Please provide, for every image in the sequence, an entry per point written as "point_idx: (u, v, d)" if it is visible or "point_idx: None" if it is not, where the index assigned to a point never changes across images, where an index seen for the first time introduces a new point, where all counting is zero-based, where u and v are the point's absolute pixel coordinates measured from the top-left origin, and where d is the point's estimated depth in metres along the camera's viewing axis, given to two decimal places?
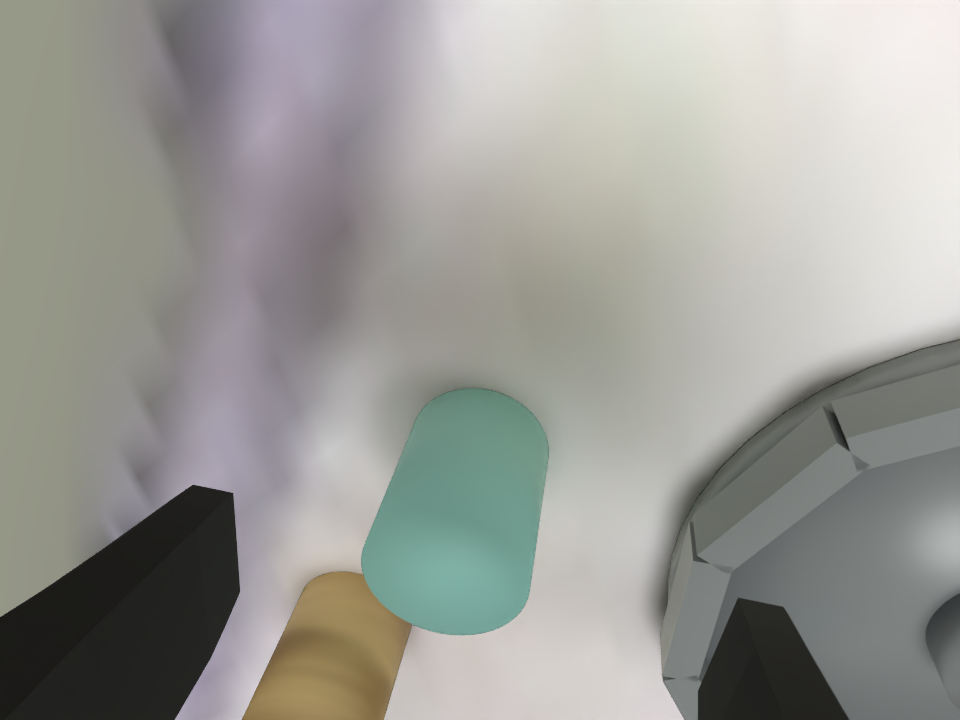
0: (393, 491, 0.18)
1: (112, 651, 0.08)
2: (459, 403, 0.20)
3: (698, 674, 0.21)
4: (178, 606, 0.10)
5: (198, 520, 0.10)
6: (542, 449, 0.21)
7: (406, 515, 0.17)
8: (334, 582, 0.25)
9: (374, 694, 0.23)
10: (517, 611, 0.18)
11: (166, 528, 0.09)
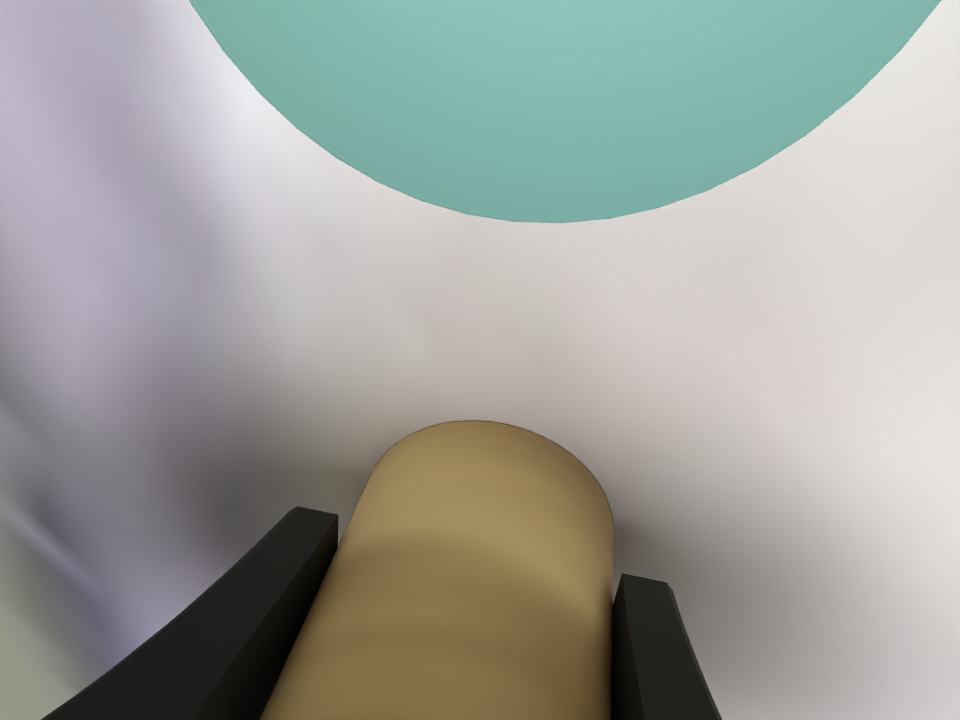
0: None
1: (245, 681, 0.08)
2: None
3: None
4: (294, 631, 0.09)
5: (312, 544, 0.10)
6: None
7: None
8: (403, 453, 0.11)
9: (555, 661, 0.08)
10: None
11: (283, 553, 0.09)
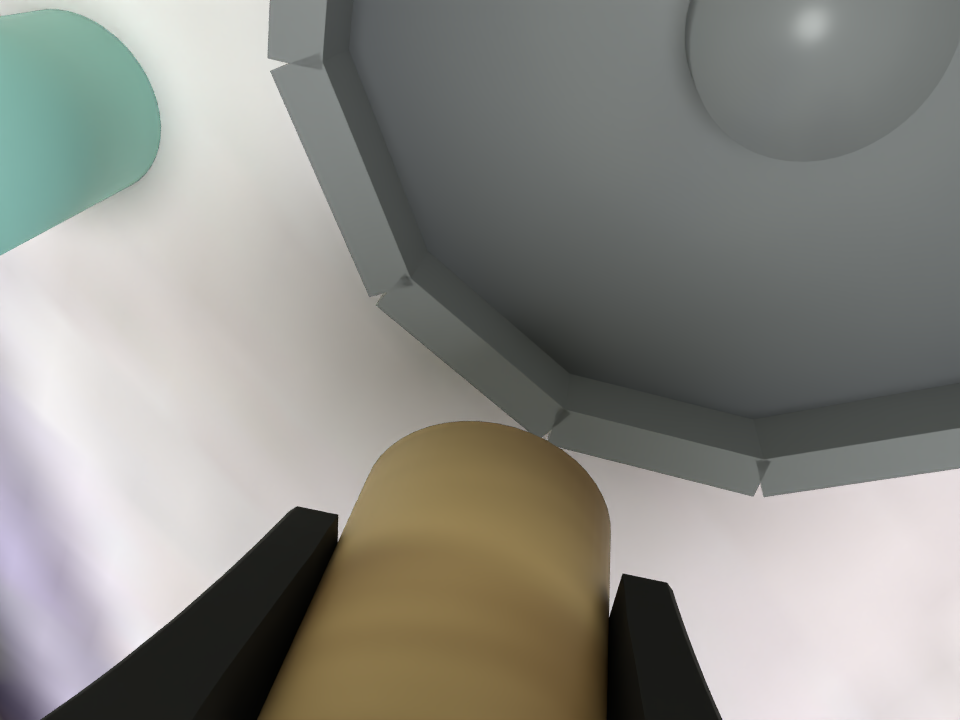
0: None
1: (245, 681, 0.08)
2: None
3: (405, 270, 0.15)
4: (294, 631, 0.09)
5: (312, 544, 0.10)
6: (100, 47, 0.16)
7: None
8: (407, 450, 0.11)
9: (559, 666, 0.08)
10: (10, 186, 0.13)
11: (283, 552, 0.09)
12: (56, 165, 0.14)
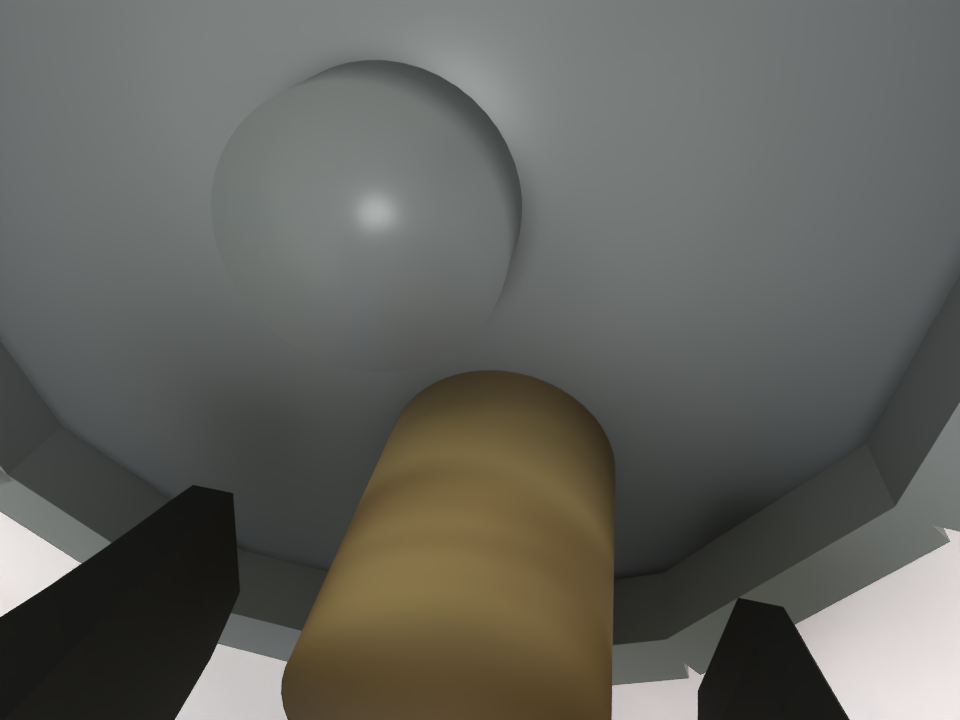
0: None
1: (112, 651, 0.08)
2: None
3: None
4: (178, 606, 0.10)
5: (198, 520, 0.10)
6: None
7: None
8: (433, 396, 0.12)
9: (572, 569, 0.09)
10: None
11: (166, 528, 0.09)
12: None
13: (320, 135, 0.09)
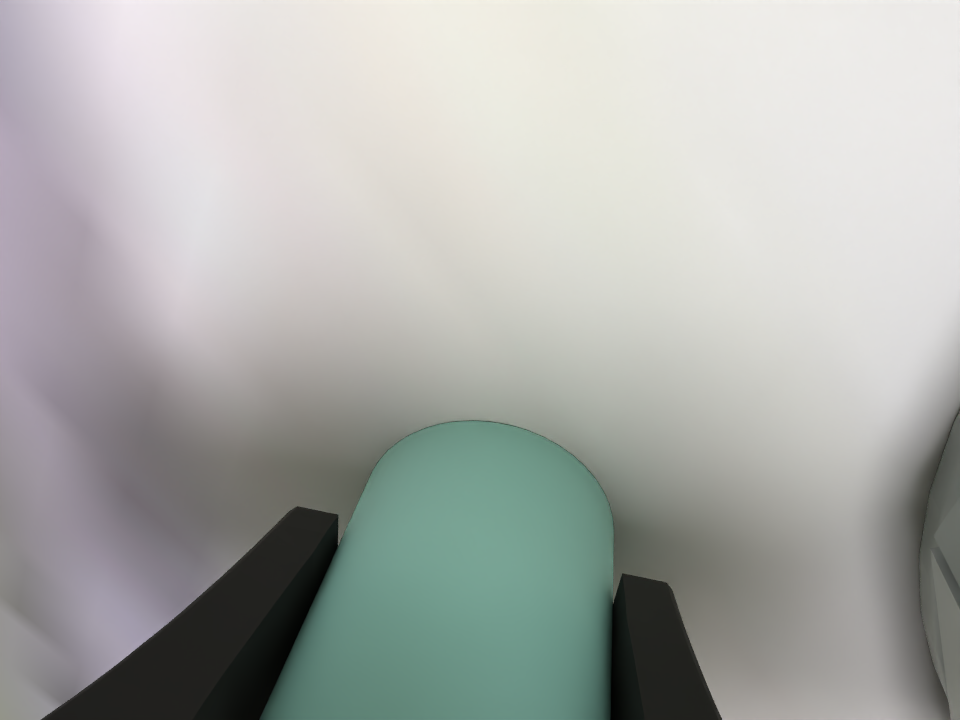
0: None
1: (245, 681, 0.08)
2: (398, 464, 0.11)
3: None
4: (294, 631, 0.09)
5: (312, 544, 0.10)
6: (579, 498, 0.10)
7: None
8: None
9: None
10: None
11: (283, 553, 0.09)
12: None
13: None
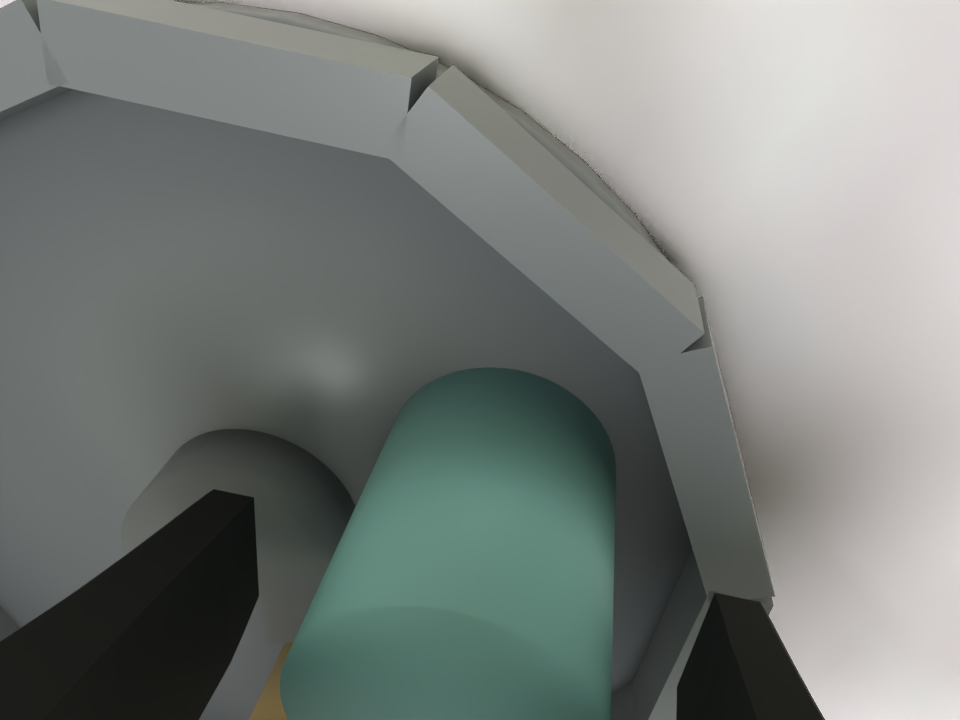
0: None
1: (138, 657, 0.08)
2: (425, 403, 0.12)
3: None
4: (201, 611, 0.10)
5: (221, 525, 0.10)
6: (587, 436, 0.12)
7: (316, 634, 0.09)
8: None
9: None
10: None
11: (189, 533, 0.09)
12: None
13: None
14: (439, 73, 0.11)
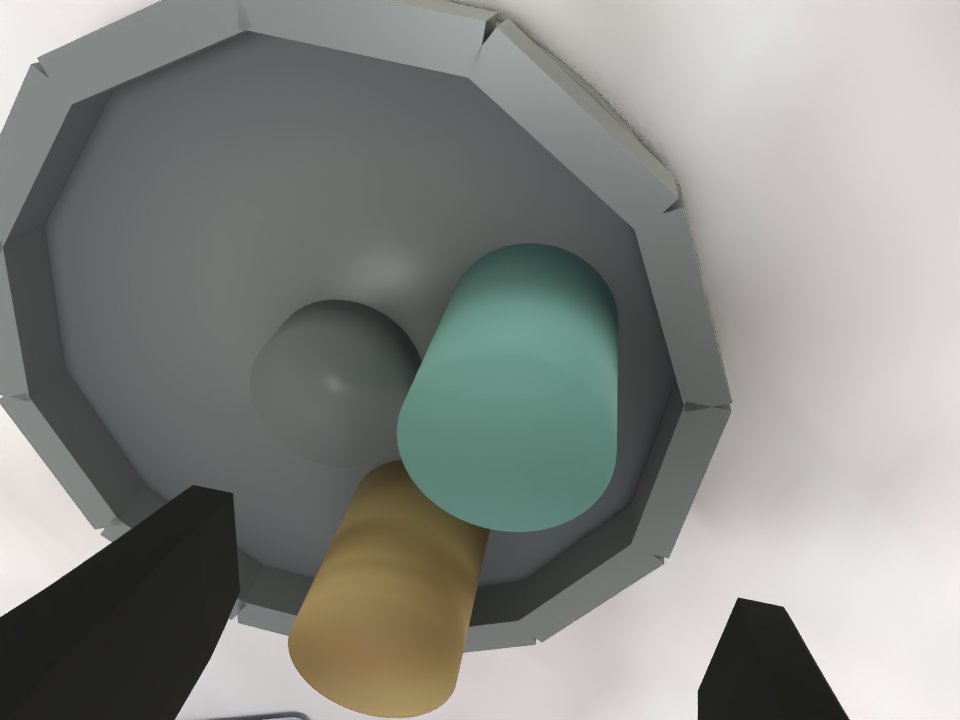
0: None
1: (112, 651, 0.08)
2: (481, 267, 0.17)
3: (113, 515, 0.22)
4: (178, 606, 0.10)
5: (198, 520, 0.10)
6: (598, 287, 0.16)
7: (426, 381, 0.13)
8: (377, 475, 0.21)
9: (441, 579, 0.18)
10: (613, 468, 0.14)
11: (166, 528, 0.09)
12: None
13: (308, 351, 0.18)
14: (496, 25, 0.15)
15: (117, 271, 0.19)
